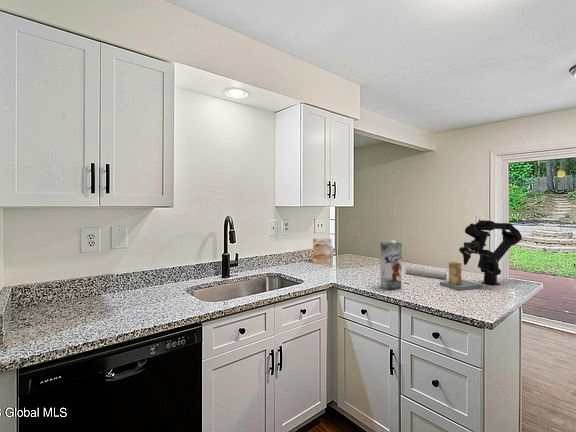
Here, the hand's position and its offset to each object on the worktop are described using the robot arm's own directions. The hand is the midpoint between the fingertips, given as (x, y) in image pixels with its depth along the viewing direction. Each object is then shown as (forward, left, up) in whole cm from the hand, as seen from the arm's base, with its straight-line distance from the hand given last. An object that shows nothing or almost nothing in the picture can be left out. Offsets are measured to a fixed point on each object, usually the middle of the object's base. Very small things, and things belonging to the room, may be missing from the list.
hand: (471, 266), depth 175 cm
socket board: (+7, -1, -12) cm, 14 cm away
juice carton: (+45, -12, -12) cm, 48 cm away
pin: (+10, -1, -12) cm, 16 cm away
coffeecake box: (+49, -98, -12) cm, 110 cm away
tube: (+6, -28, -12) cm, 32 cm away
